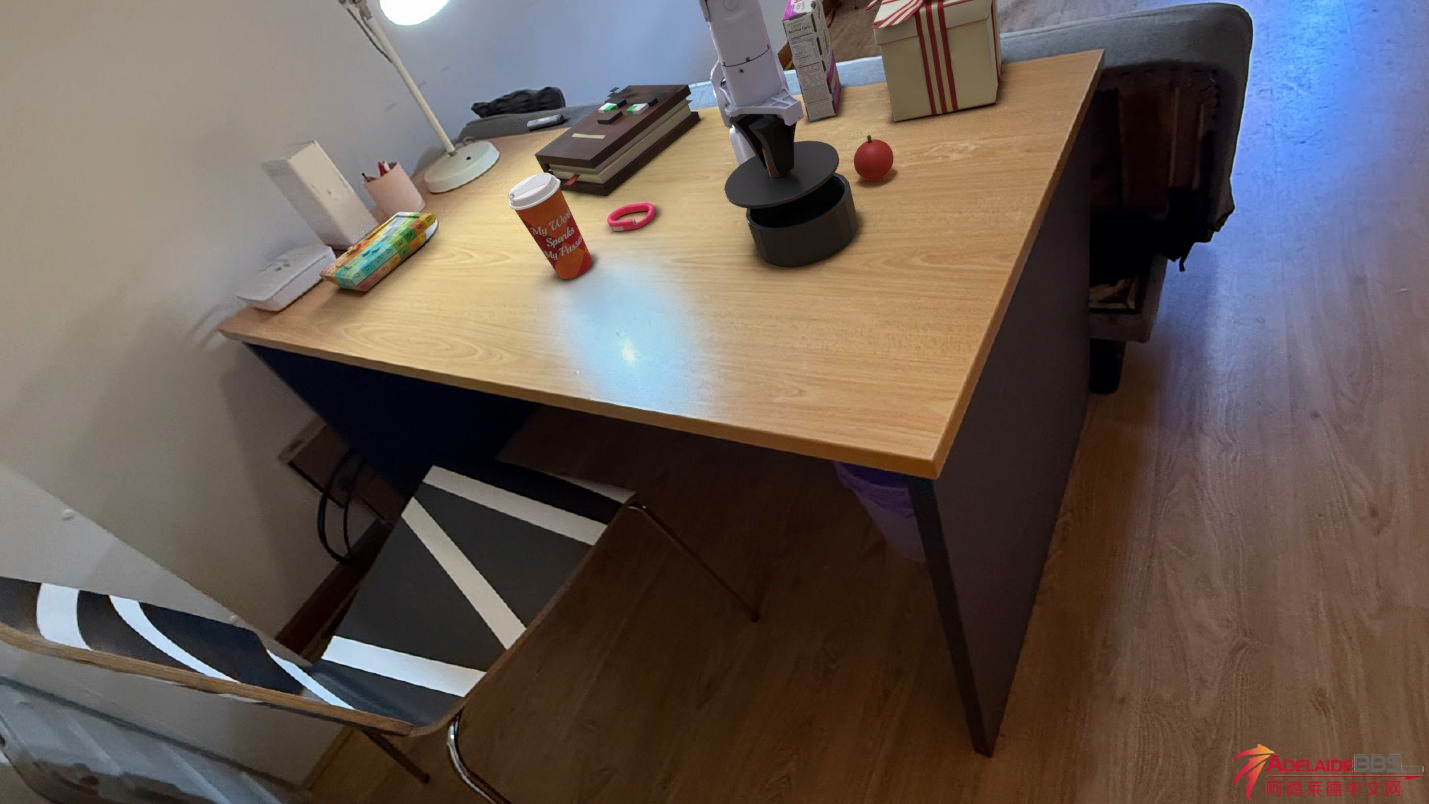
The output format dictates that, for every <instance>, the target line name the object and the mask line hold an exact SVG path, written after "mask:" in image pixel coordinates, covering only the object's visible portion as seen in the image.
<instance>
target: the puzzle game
mask: <svg viewBox="0 0 1429 804" xmlns="http://www.w3.org/2000/svg"><path fill="white" fill-rule="evenodd" d="M436 220H437V217H436V215H435V214H434V213H432V212H431V213H430V212H412V211H411V212H410V211H409V212H408V211H398V212H397V213H396V214H394V215H393V216H391V217H390V218H389V219H387V221H384V223H383V224H381V225H379V226H378V227H377V228H376V229H374V230H373V231H372V232H371V233H369V234H367V235H366V236H364V238H363V239H361V240H360V241H359V242H357V243H356V244H354V245H350V246H349V247H348V248H347V251H346V252H344V253H343V254H342V255H340V256H339V257H337V258H336V259H335V260H334V261H332V262H330V264H328V265H327V266H326V267H324V268H323V269H322V270H320V272H319V274H318V276H319V277H320V278H321V279H322V280H323V281H325V282H328V283H331V284H333V285H336V286H337V287H340V288H343V289H349V290H352V291H359V292H365V293H366V292H368V291H369V290H370V289H372V288H373V286H375V285H376V284H377V283H379V282H380V281H381V280H382V279H384V278H385V277H386V276H387V275H388V274H389V273H391V272H392V271H393V270H394V269H395V268H397V267H398V266H399V265H400V264H402V263H403V262H404V261H406V259H408V258H409V257H410V256H411V255H412V254H413V253H415V252H416V251H417V250H418V249H420V248H421V247H422V246H423V245H424V244H425V243H426V239H427V235H426V231H427V230H428V229H429V228H430V227H431V226H432V225H434V223H436Z"/></svg>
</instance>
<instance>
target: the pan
mask: <svg viewBox="0 0 1429 804" xmlns="http://www.w3.org/2000/svg"><path fill="white" fill-rule="evenodd" d="M853 196H854V195H853V192H852V188H851V184H850V181H849V180H848V179H847V178H846V177H845V175H843V174H840V173H838V172H837V171H835V173H834V174H833V175H832V177H831V178H830V179H829V180H828V181H827V182H825V183H824V184H823V185H822V186H820V187H819V188H817V189H816V190H814V191H813V192H811V193H809V194H807V195H805V196H803V197H801V198H799V199H796V200H794V201H791V202H788V203H785V204H782V205H778V206H773V207H768V208H757V209H752V208H745V209H746V210H745V211H746V212H745V219H746V223H747V225H748V228H749V231H750V234H751V237H752V240H753V243H754V245H755V249H756V251H757V253H758V255H759V257H760V259H761V260H762V261H763V262H764V263H766V264H767V265H771V266H773V267H777V268H784V269H786V268H789V269H790V268H791V269H792V268H793V269H794V268H802V267H806V266H810V265H814V264H817V263H820V262H822V261H825V260H827V259H830V258H831V257H833V256H835V255H836V254H838V253H839V252H841V251H842V250H844V249H845V248H846V247H848V245H850V243H851V242H852V241H853V240H854V238H855V237H856V234H858V230H859V220H858V214H857V210H856V206H855V201H854V197H853Z"/></svg>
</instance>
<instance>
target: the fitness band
mask: <svg viewBox="0 0 1429 804" xmlns="http://www.w3.org/2000/svg"><path fill="white" fill-rule="evenodd" d="M646 211H647V214H646V215H645V216H644V217H643V218H642V219H640V220H639V221H637V220H636V219H635V218H632V219H624V220H616V219H618V218H620V217H622V216H625V215H627V214H630V213H638V212H646ZM655 216H656V208H655V206H654V205H653V203H651V202H647V201H645V202H637V203H629V204H627V205H626V204H625V205H623V206H621V207H619V208H617V209H615V210H613V211H611V212H610V214H609V215H608V216H607V218H606V222H607V224H608V226H610V227H612V230H613V232H622V231H623V232H624V231H631V230H632V231H633V230H636V229H639V228H641V227H644V226H645V225H647V224H649V223H650V222H651V221H652V220H653V219H654V218H655Z"/></svg>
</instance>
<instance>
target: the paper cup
mask: <svg viewBox="0 0 1429 804" xmlns="http://www.w3.org/2000/svg"><path fill="white" fill-rule="evenodd" d="M559 186H560V180H559V179H557V178H556V177H555V176H554V175H551V174H549V173H544V172H539V173H536V174H533V175H530V176H528V177H526V178H524V179H523V180H521V181H519V182H518V183H516V184H515V185H514V186H512V187H511V189H510V190H509V192H508V194H507V197H508V200H509V204H508V205H509V206H508V207H509V208H510V209H511V210H514V212H515V213H516V215H517V216H518V217H519V219H520V220H521V222H522V223H523V225H524V227H525V228H526V229H527V231H528V233H529V234H530V235H531V237H532V238H533V240H534V242H535V243H536V245H537V246H538V247H539V249H540V251H541V252H542V253H543V255H544V256H545V258H546V259H547V261H548V262H549V264H550V266H551V267H552V268H553V270H554V271H555V272H556V274H557V275H558V277H559V278H560V279H561V280H572V279H575V278H577V277H580V276H581V275H583V274H584V273H586V272H587V271H588V270H589V269H590V268H591V266H592V264H593V258H592V255H591V253H590V251H589V249H588V247H587V244H586V242H585V240H584V238H583V235H582V233H581V231H580V229H579V227H578V224H577V222H576V220H575V218H574V215H573V213H572V211H571V209H570V207H569V205H568V203H567V202H568V201H567V200H566V198H565V195H564V194H563V192H562V189H560V187H559Z"/></svg>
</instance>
